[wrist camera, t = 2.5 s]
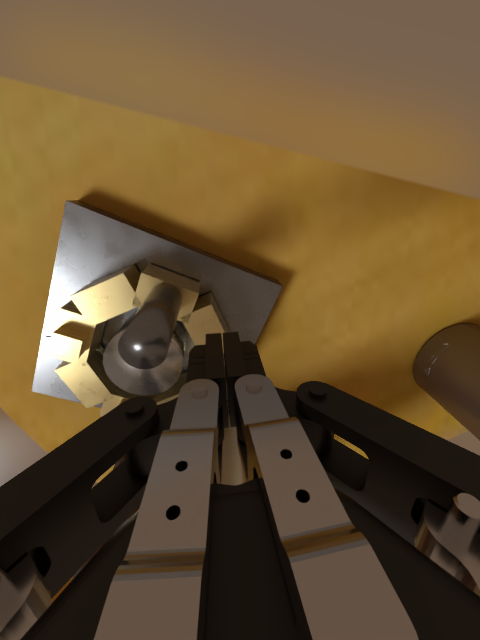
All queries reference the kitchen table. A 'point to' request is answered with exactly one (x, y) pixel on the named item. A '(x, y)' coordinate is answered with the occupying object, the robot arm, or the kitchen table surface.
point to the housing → (141, 250)
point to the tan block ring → (129, 330)
